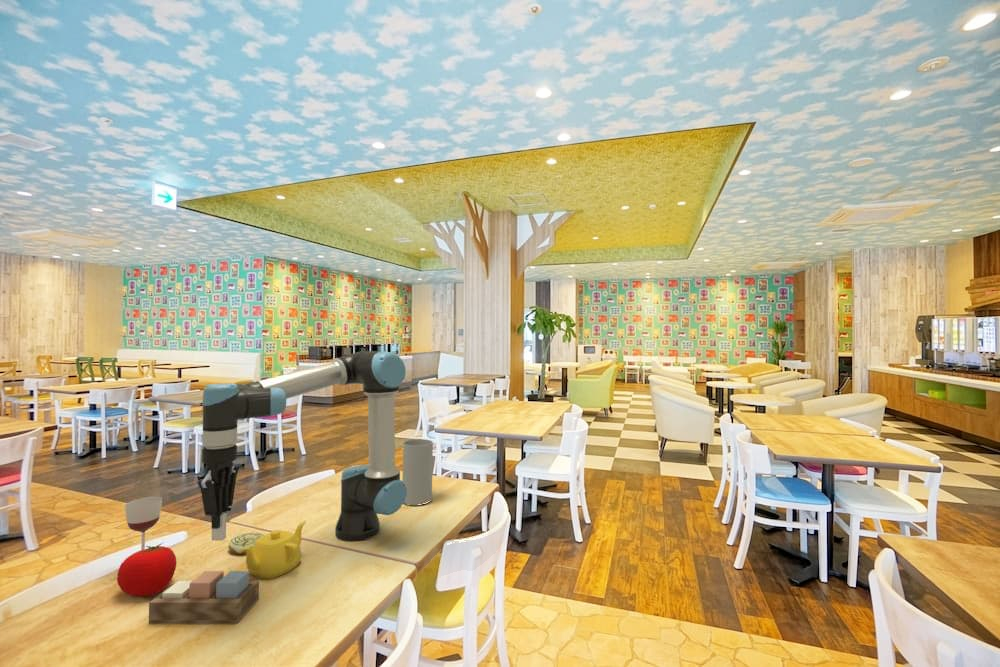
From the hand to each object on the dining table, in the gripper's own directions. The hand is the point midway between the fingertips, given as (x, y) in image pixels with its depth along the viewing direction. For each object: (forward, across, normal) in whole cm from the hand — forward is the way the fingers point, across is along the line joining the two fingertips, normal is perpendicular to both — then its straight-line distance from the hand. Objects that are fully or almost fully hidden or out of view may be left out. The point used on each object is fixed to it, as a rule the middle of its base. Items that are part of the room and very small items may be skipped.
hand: (218, 539), depth 113 cm
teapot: (+18, -21, +5) cm, 28 cm away
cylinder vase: (+19, -78, +35) cm, 88 cm away
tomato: (+18, -8, -24) cm, 31 cm away
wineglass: (+18, -19, -34) cm, 43 cm away
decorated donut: (+19, -33, -12) cm, 40 cm away
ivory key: (+17, +1, -9) cm, 19 cm away
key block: (+18, 0, -3) cm, 18 cm away
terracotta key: (+14, 0, -3) cm, 15 cm away
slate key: (+14, 0, +4) cm, 15 cm away
